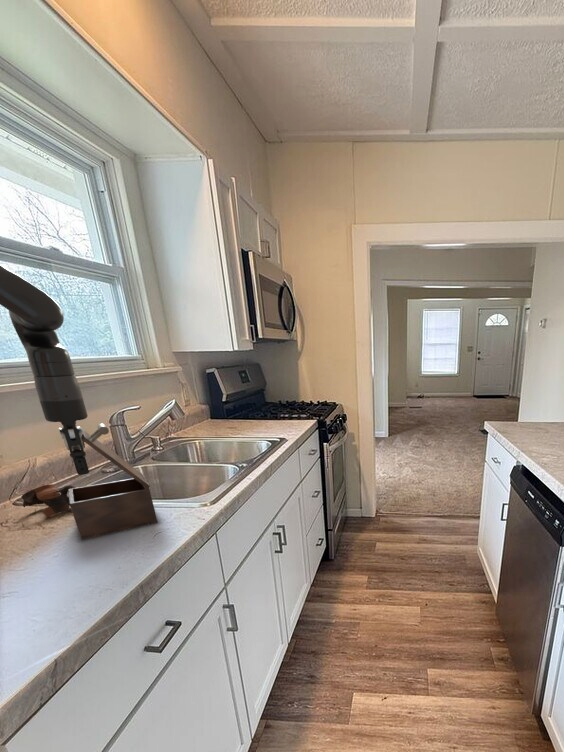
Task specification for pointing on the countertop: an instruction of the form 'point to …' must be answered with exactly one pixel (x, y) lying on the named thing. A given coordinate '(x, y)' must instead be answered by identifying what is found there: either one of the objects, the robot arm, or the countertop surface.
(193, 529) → the countertop surface
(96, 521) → the chest
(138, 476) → the lid
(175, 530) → the countertop surface
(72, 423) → the robot arm
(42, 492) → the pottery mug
